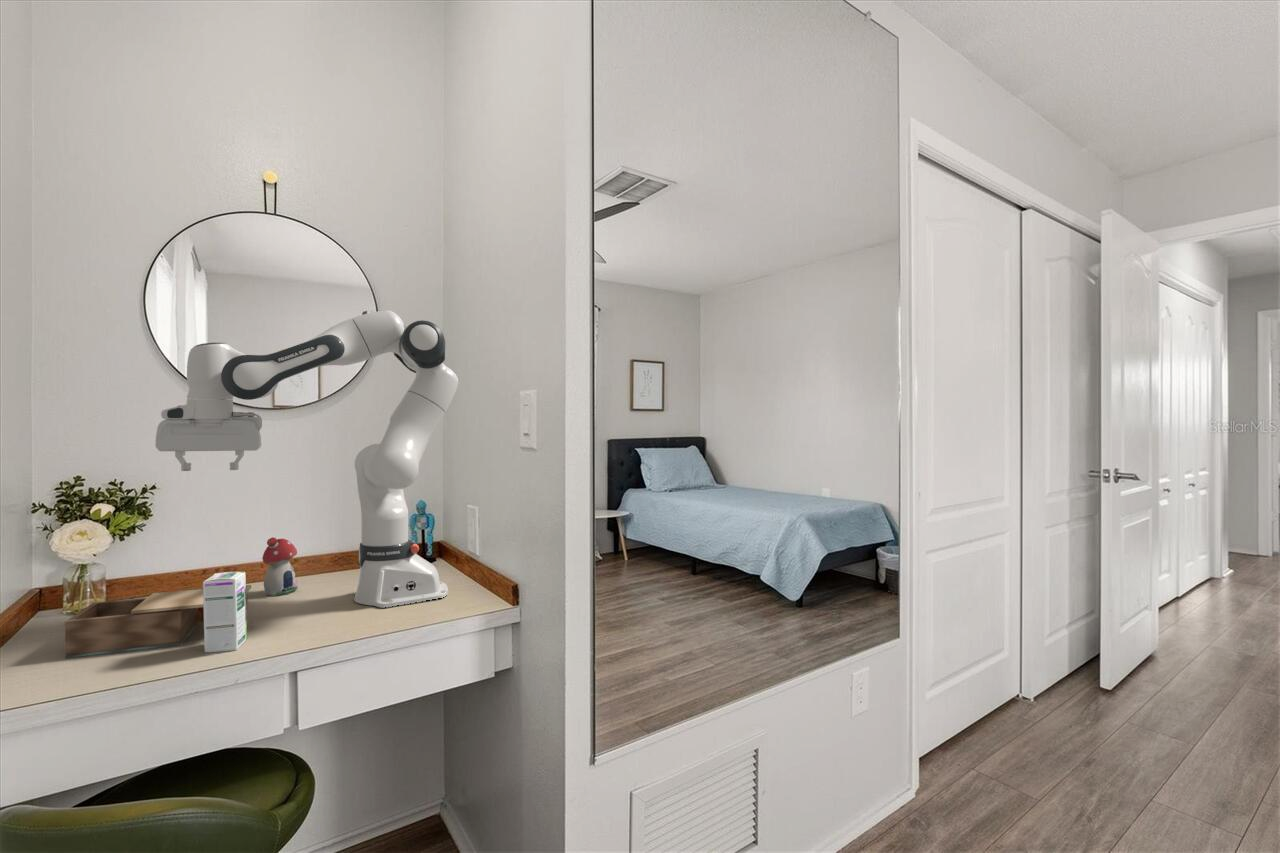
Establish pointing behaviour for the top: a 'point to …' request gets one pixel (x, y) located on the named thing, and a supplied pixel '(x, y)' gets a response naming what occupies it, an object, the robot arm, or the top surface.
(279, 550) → the decorative ornament
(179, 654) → the top surface
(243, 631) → the syrup box
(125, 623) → the walnut box
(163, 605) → the lid
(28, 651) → the top surface
